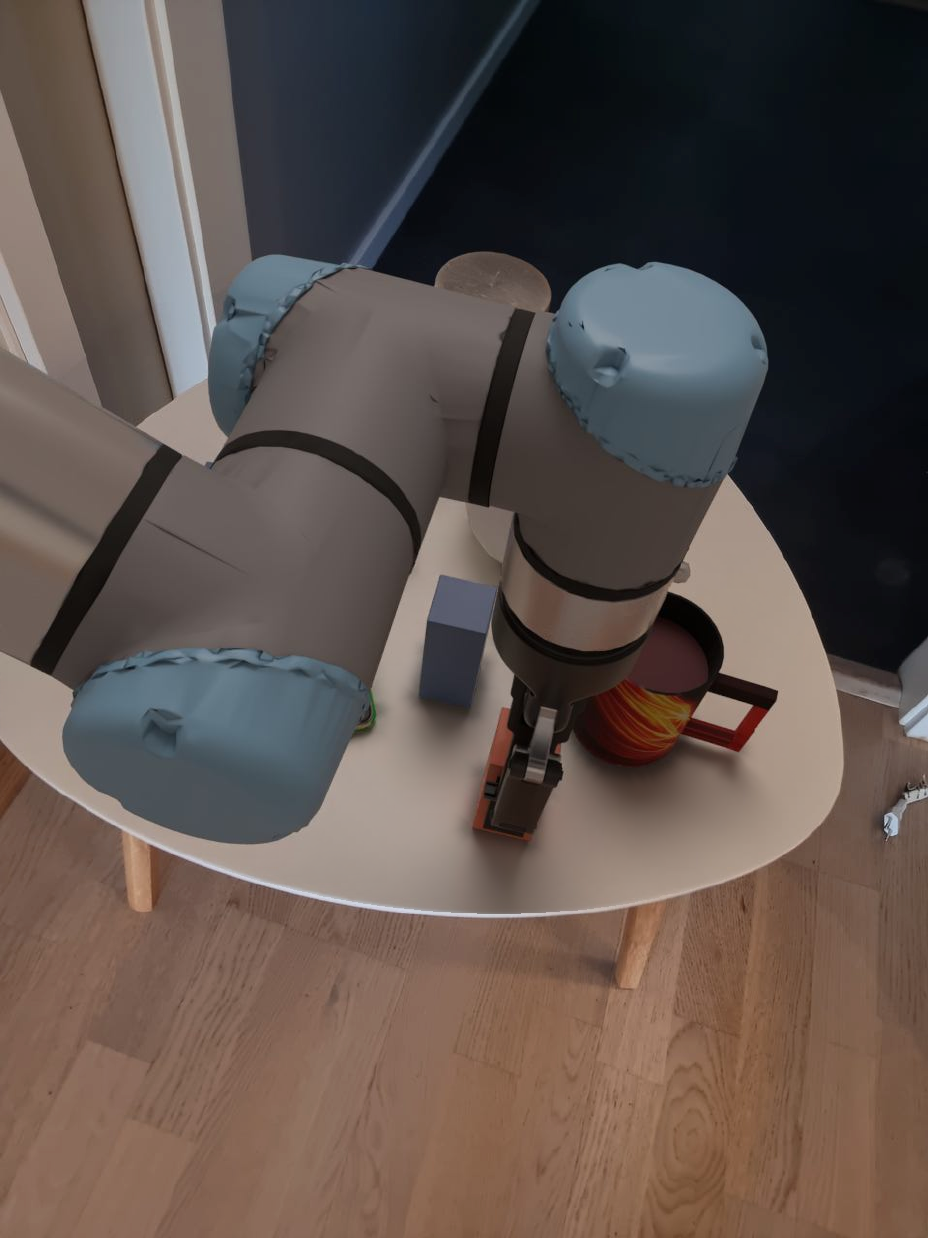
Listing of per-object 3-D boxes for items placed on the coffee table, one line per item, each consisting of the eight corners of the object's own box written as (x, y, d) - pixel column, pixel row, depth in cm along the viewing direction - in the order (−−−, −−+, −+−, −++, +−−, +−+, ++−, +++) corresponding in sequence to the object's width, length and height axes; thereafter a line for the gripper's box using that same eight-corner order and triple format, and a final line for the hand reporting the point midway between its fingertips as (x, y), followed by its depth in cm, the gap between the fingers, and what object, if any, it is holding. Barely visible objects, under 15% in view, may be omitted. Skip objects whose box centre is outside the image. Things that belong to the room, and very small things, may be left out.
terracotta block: (472, 827, 63) (489, 763, 55) (483, 775, 65) (502, 706, 57) (529, 841, 63) (555, 779, 54) (538, 788, 65) (565, 721, 57)
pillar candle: (499, 368, 90) (523, 228, 78) (544, 436, 85) (576, 298, 73) (407, 389, 87) (416, 246, 75) (447, 460, 82) (464, 320, 70)
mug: (738, 758, 68) (793, 687, 59) (581, 772, 66) (615, 701, 57) (706, 661, 73) (753, 582, 64) (558, 672, 71) (586, 592, 62)
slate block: (418, 696, 68) (426, 620, 60) (430, 652, 71) (440, 573, 62) (470, 709, 68) (486, 634, 60) (481, 664, 70) (497, 586, 62)
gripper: (641, 771, 38) (544, 933, 57) (672, 479, 48) (581, 701, 67) (463, 730, 38) (427, 905, 57) (531, 447, 48) (480, 677, 67)
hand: (510, 795), depth 62 cm, fingers closed on terracotta block, 4 cm apart
